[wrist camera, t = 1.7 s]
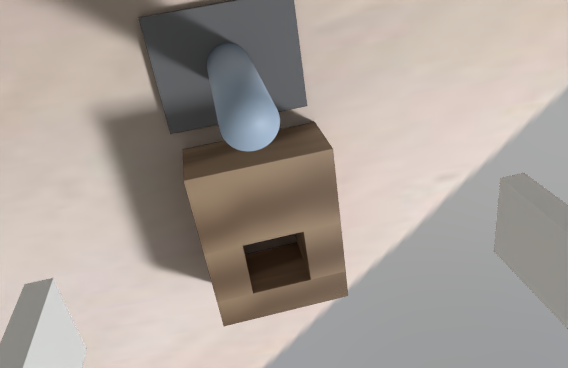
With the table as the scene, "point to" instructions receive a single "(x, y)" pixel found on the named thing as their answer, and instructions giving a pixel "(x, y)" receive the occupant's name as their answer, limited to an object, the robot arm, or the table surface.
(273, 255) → the socket block
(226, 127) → the dowel
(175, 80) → the mat
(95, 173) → the table surface
